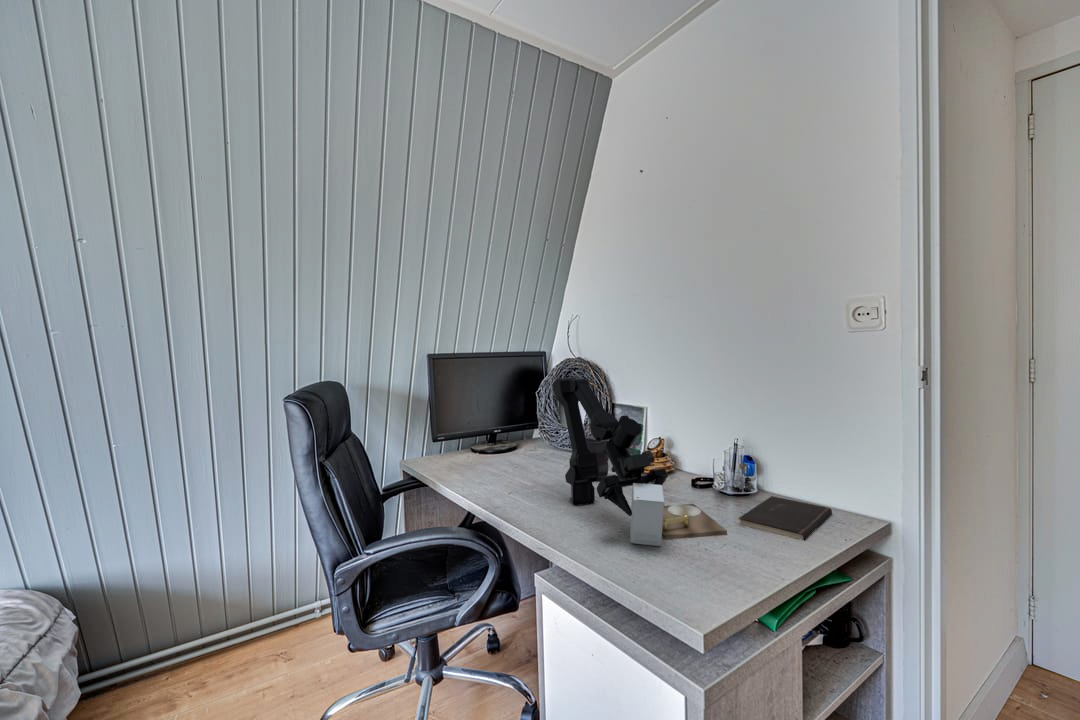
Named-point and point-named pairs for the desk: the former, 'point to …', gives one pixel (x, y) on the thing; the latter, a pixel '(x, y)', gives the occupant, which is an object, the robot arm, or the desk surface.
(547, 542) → the desk surface
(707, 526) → the walnut board
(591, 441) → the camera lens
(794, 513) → the hardcover book
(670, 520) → the bent brass wire
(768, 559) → the desk surface
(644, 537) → the supplement box
